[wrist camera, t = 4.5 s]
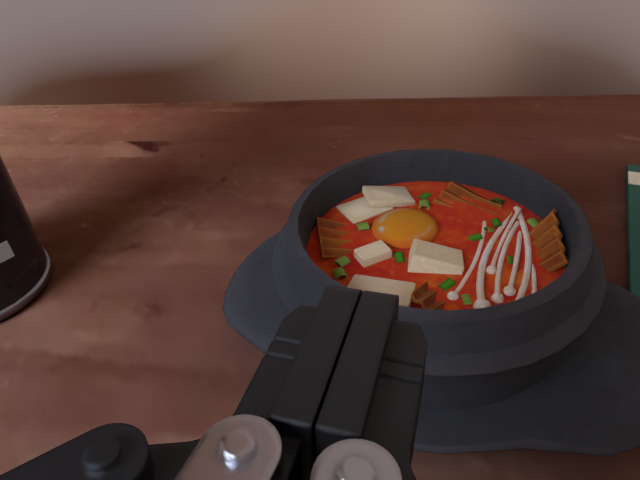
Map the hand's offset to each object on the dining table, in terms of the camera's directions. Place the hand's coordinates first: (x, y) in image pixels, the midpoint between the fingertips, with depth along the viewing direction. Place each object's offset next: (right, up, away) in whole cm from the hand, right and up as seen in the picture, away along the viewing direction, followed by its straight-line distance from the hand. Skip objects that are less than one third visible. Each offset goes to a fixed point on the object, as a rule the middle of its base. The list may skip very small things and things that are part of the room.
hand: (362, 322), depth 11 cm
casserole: (+5, -4, +21) cm, 22 cm away
